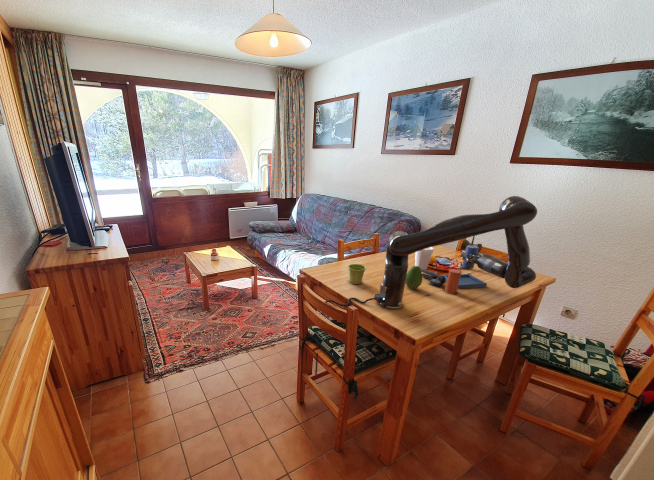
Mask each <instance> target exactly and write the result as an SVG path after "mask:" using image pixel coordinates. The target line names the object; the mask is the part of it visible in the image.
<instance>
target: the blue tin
mask: <svg viewBox="0 0 654 480" xmlns="http://www.w3.org/2000/svg"><path fill="white" fill-rule="evenodd" d="M478 248H479V247H477V246H473V245H468V246H467V247H466V249H465V250H464V251H465V252H464V253H466V254H468V255H476V256H477V252H478ZM468 257H469V256H468ZM472 258H473V257H472ZM475 265H476V264H475V263H473V262H469V263H467V262H465V261H464V260H462V265H461V266H462V267H464V268H468V269H467V270H472V269H474V268H475ZM462 267H461V268H462ZM464 268H463V269H464Z"/></svg>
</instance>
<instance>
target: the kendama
mask: <svg viewBox="0 0 654 480" xmlns="http://www.w3.org/2000/svg"><path fill="white" fill-rule="evenodd" d="M474 242H475V236H472V239H471V242H470V241H469V240H468V239H463V241H462V242H461V244H460V249H461V250H463V251H465V250H466V247H467V246H468V245H473V246H477V247H479V248H478V252H477V253H478V254H480V252H481V251H482V249H483V244H482V243H475V244H474ZM460 267H461V269H464V270H469V269H468V268H464V267H462V265H461V266H460Z"/></svg>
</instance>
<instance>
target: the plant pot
mask: <svg viewBox="0 0 654 480" xmlns="http://www.w3.org/2000/svg"><path fill="white" fill-rule="evenodd" d="M347 268H348V274H349V276H348V277H349V283H350V284H353V285H360V284H362V282H363V277H364V274H365V272H366V270H367V267H366V266H365V265H364V264H359V263H351V264H349V265H347Z"/></svg>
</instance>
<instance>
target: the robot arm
mask: <svg viewBox="0 0 654 480" xmlns="http://www.w3.org/2000/svg"><path fill="white" fill-rule="evenodd" d="M498 208H499V209H498V211H495V212H491V213H490V212H489V213H477V214H463V215H458V216H454V217H451V218H448V219H447V218H446V219H444V220H441V221H440V222H438V223H436V224H434V225H431V227H429V228H427V229H424V230H422V231H418V232H413V233H409V234H408V233H407V232H405V231H402V230H401V231H400V230H397V231H394V232H393V233H392V234H390V236H389V238H388V240H387V244H386V253H385V265H384V272H383V279H382V282H381V283H380V286H379V293H375V294H374V297H372V298H368V299H367V298H366V299H365V300H364V301H363V300H359V299H358V298H357V297H349V298H348V300H347V303H346V304H343V303H340V302H337V301H335V300H333V299H327V300H325V301H327V302H326V303H330V302H331V303H333V304H335V305H337V306H340V307H348V306H349V305H350V301H351V300H354V301H356V302H358V303H360V304H366V303H368V302H369V301H375V302H376V303H377V304H380V305H381V306H382V308H384V309H386V308H387V309H392V310H396V309H401V308H402V305H403V299H404V293H405V287H406V282H405V281H406V276H407V273H408V271H409V256H410V255H412V254H416V252H417V251H420V250H423V249H426V248H429V247H433V248H434V247H438V246H442V245H445V244H450V243H454V242H458V241H462V240H466V239H467V238H471V237H472V238H473V236H480V235H483V234H487V233H490V232H495V231H500V230H501V231H502V230H504V234H505V240H506V247H507V261H508V262H506V261H504V260H502V259H501V258H498V257H496V256H493V255H491V254H488V253H487V254H486V253H477V256H476V255H468V254H466V253H465V252H464V251H463V252H461V253H460V257H461V258H462V261H463V260H464V261H465V262H467V263H469V262H473V263H475V264H474V265H476V266H477V267H478V269H480V270H482V271H484V272H487V273H488V274H491V275H494V276H496V277H498V278H501V279H503V280H504V281H505V284H506V285H507V286H508V287H509V288H512V289H520V288H521V287H523V286H526V285H528V284H531V283H533V282H534V281H535V280H537V279H536V278H537V273H536V271H535V270H534V269H533V268H531V267H530V264H531V251H530V246H529V245H530V244H529V242H528V238H527V235H526V232H525V227H524V225H525V226H526V225H527V224H529V223H530V222H532V221H533V220H535V218H536V217H537V215H538V209H537V206H536V205H535V204H533V203H532V202H530V200H527V199H526V198H524V197H522V196H519V195H511V196H508V197H507V198H505V199H504V200H503V201H502V202H501V203H500V205H499V207H498ZM468 256H469V257H468ZM472 257H473V258H472ZM318 359H319V353H318V352H316V353H315V373H314V375H315V376H317V375H318V361H319V360H318Z"/></svg>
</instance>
